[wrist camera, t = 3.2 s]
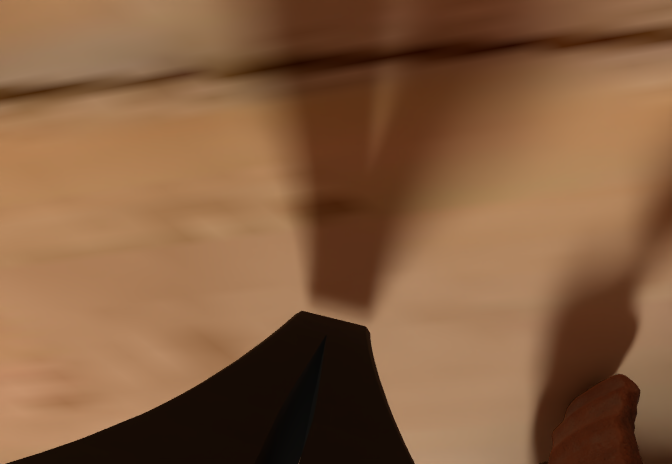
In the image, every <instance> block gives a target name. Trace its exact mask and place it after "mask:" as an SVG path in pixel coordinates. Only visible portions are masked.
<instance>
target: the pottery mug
mask: <svg viewBox="0 0 672 464" xmlns="http://www.w3.org/2000/svg"><path fill="white" fill-rule="evenodd" d="M639 397H640V389H639V388H638V386H637V385H636V384H635V383H634V382H633V381H632V380H630V379H629V378H628V377H626V376H625V375H623V374H618V375H615V376H612V377H610V378H608V379H606V380H604V381H602V382H600V383H598V384H596V385H595V386H593V387H592V388H590V389H589V390H587V391H586V392H585V393H583V394H581V395H579V396H578V397H576V398H575V399H574V400H573V401H572V403H571V404H570V405H569V407H568V408H567V411H566V414H565V417H564V420H563V422H562V423H561V424H560V425H559V426H558V427H557V428H556V429H555V430H554V431H553V433H552V439H553V447H552V451H551V453H550V455H549V461H546V462H542V463H540V464H643V463H642V460H641V457H640V454H639V449H638V446H637V442H636V438H635V435H634V429H635V425H634V422H635V418H636V415H637V404H638V402H639Z"/></svg>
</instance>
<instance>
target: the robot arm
mask: <svg viewBox="0 0 672 464" xmlns="http://www.w3.org/2000/svg"><path fill="white" fill-rule="evenodd" d="M298 463H299V464H415V463H414V461H413V459H412V457H411V455H410V453H409V451H408V449H407V447H406V445H405V443H404V441H403V438H402V436H401V434H400V431H399V429H398V427H397V425H396V422H395V420H394V417H393V415H392V412H391V410H390V407H389V405H388V402H387V399H386V396H385V393H384V390H383V387H382V385H381V382H380V379H379V375H378V372H377V368H376V364H375V361H374V357H373V352H372V347H371V340H370V332H369V331H368V329H367V328H366V326H362V325H358V324H354V323H350V322H345V321H341V320H337V319H333V318H329V317H325V316H321V315H317V314H313V313H309V312H305V311H301V312H299V313H297V314H295V315H294V316H293V317H292V318H291V319H290V320H289V321H287V322H286V323H285V324H284V325H283V326H282V327H280V328H279V329H278V330H277V331H275V332H274V333H273V334H272V335H270V336H269V337H268V338H267V339H265V340H264V341H263V342H261V343H260V344H259V345H257V346H256V347H255V348H253V349H252V350H250V351H249V352H248V353H246V354H245V355H244V356H242V357H241V358H239V359H238V360H237V361H235V362H234V363H232V364H231V365H229V366H227V367H226V368H224V369H223V370H221V371H220V372H218V373H216V374H215V375H213V376H212V377H210V378H208V379H207V380H205V381H204V382H202V383H200V384H199V385H197V386H195V387H194V388H192V389H190V390H188V391H187V392H185V393H183V394H181V395H179V396H177V397H176V398H174V399H172V400H170V401H168V402H166V403H164V404H162V405H160V406H158V407H156V408H154V409H152V410H150V411H148V412H146V413H143V414H141V415H139V416H136V417H134V418H131V419H129V420H126V421H124V422H122V423H119V424H117V425H114V426H112V427H109V428H107V429H104V430H102V431H100V432H97V433H95V434H92V435H90V436H87V437H85V438H82V439H79V440H77V441H74V442H71V443H68V444H65V445H62V446H59V447H56V448H54V449H51V450H48V451H45V452H42V453H39V454H36V455H32V456H29V457H26V458H23V459H19V460H16V461H13V462H10V463H7V464H298Z"/></svg>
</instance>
